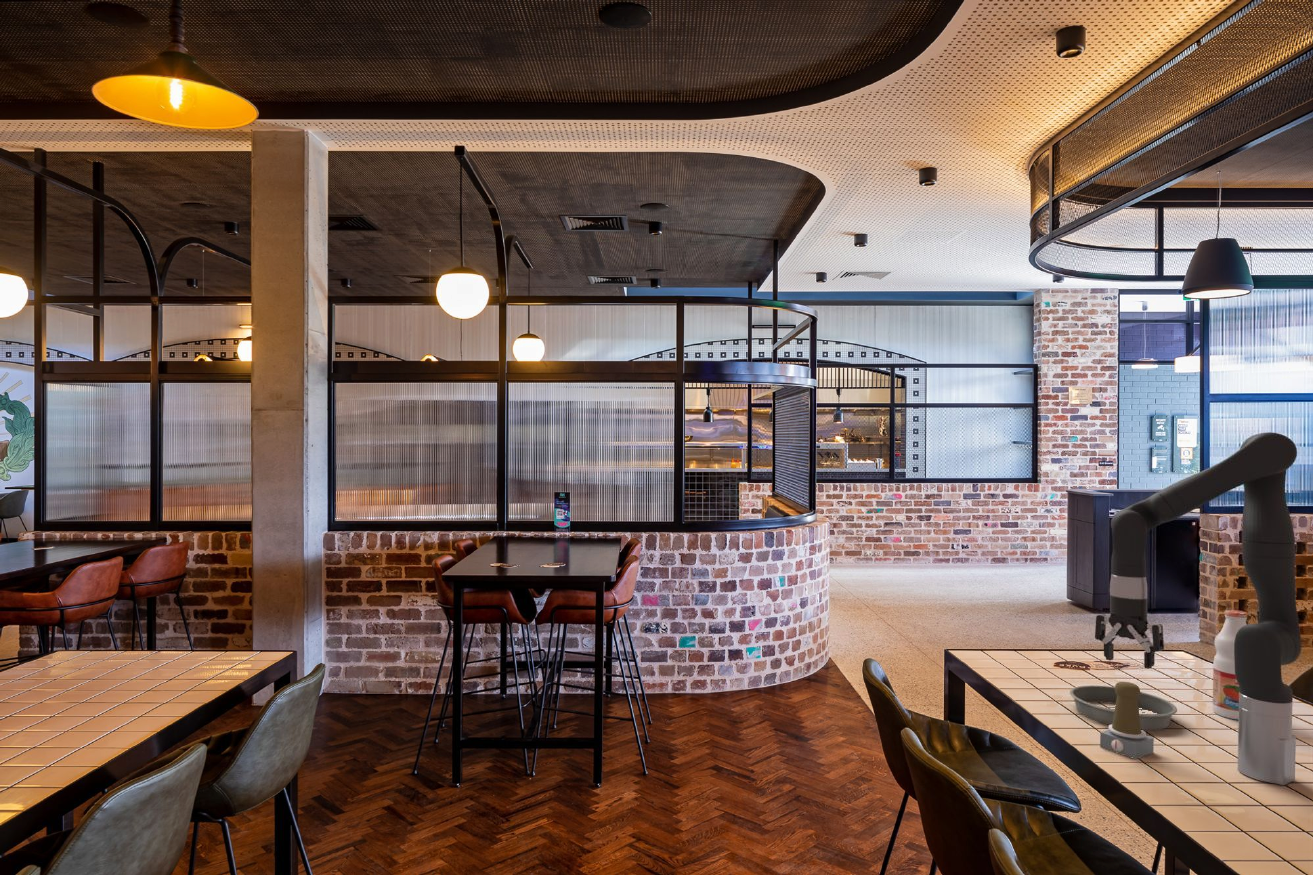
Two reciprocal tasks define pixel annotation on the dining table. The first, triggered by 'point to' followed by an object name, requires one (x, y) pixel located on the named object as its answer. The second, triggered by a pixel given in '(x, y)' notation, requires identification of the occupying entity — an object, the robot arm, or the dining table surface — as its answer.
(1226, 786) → the dining table surface
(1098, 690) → the cake pan
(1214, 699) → the fruit juice
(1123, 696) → the olive pepper mill
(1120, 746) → the scale
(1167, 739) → the dining table surface
